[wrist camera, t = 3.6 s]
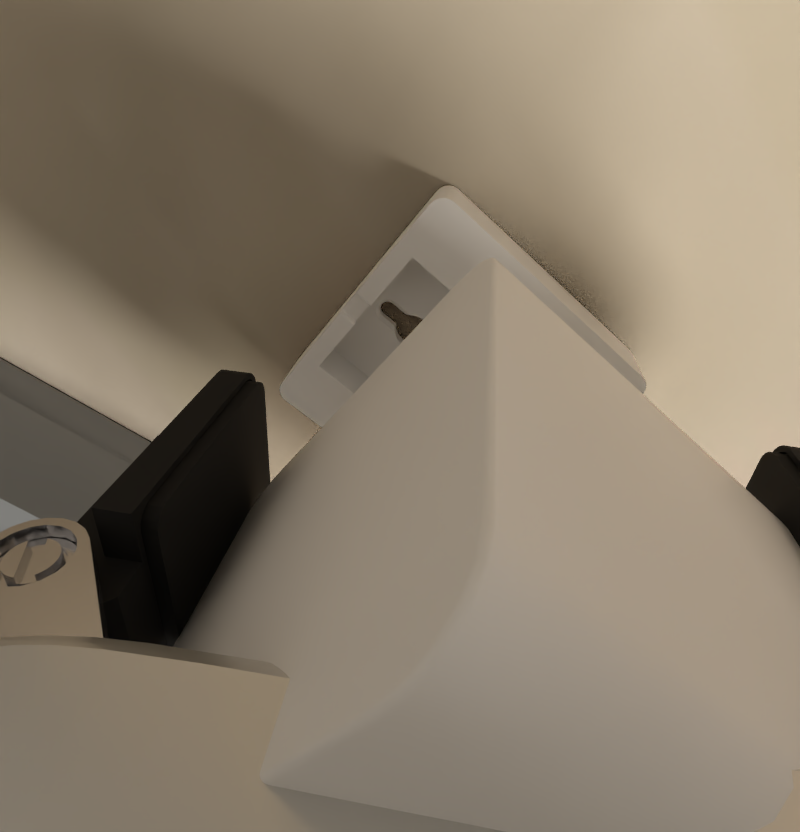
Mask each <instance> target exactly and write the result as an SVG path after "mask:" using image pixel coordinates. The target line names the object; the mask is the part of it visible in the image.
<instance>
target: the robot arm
mask: <svg viewBox="0 0 800 832" xmlns="http://www.w3.org/2000/svg"><path fill="white" fill-rule="evenodd" d="M269 484H270V471H269V455H268V439H267V423H266V407H265V391H264V386H263V384H262V383H261V382H256V381H255V377H254V375H253V374H252V373H244V372H237V371H229V370H220V371H219V372H218V373H217V374H216V375H215V376H214V377H213V378H212V379H211V380H210V381H209V382H208V383H207V385H206V386H205V387H204V388H203V389H202V390H201V391H200V392H199V393H198V394H197V395H196V396H195V397H194V398H193V399H192V401H191V402H190V403H189V404H188V405H187V406H186V407H185V408H184V409H183V410H182V411H181V412H180V413H179V414H178V415H177V417H176V418H175V419H174V420H173V421H172V422H171V423H170V424H169V425H168V426H167V427H166V428H165V429H164V430H163V431H162V433H161V434H160V435H158V436H157V437H156V438H155V439H154V440H153V441H152V442H151V443H150V445H149V446H148V447H147V448H146V449H145V450H144V451H143V452H142V453H141V454H140V455H139V456H138V457H137V458H136V459H135V461H134V462H133V463H132V464H131V465H130V466H129V467H128V468H127V469H126V470H125V471H124V472H123V473H122V474H121V475H120V476H119V478H118V479H117V480H116V481H115V482H114V483H113V484H112V485H111V486H110V487H109V488H108V489H107V490H106V491H105V492H104V494H103V495H102V496H101V497H100V498H99V499H98V500H97V501H96V502H95V503H94V504H93V505H92V506H91V507H90V508H89V510H88V511H87V512H86V513H85V514H84V515H83V516H82V517H81V518H80V519H79V520H78V521H77V522H75V521H71V520H68V519H64V518H43V519H37V520H30V521H27V522H24V523H21V524H18V525H15V526H12V527H10V528H8V529H6V530H4V531H2V532H0V832H505V831H500V830H495V829H490V828H485V827H480V826H474V825H469V824H464V823H459V822H454V821H449V820H444V819H439V818H434V817H429V816H423V815H418V814H413V813H408V812H403V811H398V810H393V809H388V808H383V807H377V806H372V805H367V804H362V803H357V802H352V801H347V800H342V799H337V798H332V797H327V796H322V795H316V794H311V793H306V792H301V791H296V790H291V789H286V788H281V787H276V786H271V785H267V784H265V783H264V782H262V780H261V779H260V770H261V767H262V764H263V761H264V758H265V755H266V752H267V748H268V745H269V742H270V739H271V736H272V733H273V730H274V727H275V724H276V721H277V718H278V715H279V712H280V709H281V705H282V702H283V699H284V696H285V693H286V690H287V687H288V684H289V681H290V678H289V677H288V676H287V674H286V673H284V672H283V671H282V670H281V669H280V668H278V667H277V666H275V665H273V664H272V663H270V662H264V661H259V660H253V659H246V658H240V657H234V656H227V655H221V654H215V653H209V652H202V651H196V650H190V649H183V648H177V647H173V645H174V644H175V642H176V640H177V638H178V637H179V636H180V634H181V632H182V631H183V629H184V627H185V625H186V623H187V622H188V620H189V618H190V616H191V615H192V613H193V611H194V609H195V607H196V606H197V604H198V602H199V600H200V599H201V597H202V595H203V593H204V591H205V590H206V588H207V586H208V584H209V582H210V581H211V579H212V577H213V575H214V574H215V572H216V570H217V568H218V566H219V565H220V563H221V561H222V559H223V557H224V556H225V554H226V552H227V550H228V549H229V547H230V545H231V543H232V541H233V540H234V538H235V536H236V534H237V532H238V531H239V529H240V527H241V525H242V524H243V522H244V520H245V518H246V516H247V514H248V513H249V511H250V510H251V508H252V507H253V505H254V504H255V502H256V501H257V500H258V498H259V497H260V495H261V494H262V493H263V491H264V490H265V489H266V488H267V486H268V485H269ZM746 490H748V491H749V492H750V493H751V494H752V495H753V496H754V497H755V498H756V499H757V500H758V501H760V502H761V503H762V504H763V505H764V506H765V507H766V508H767V509H768V510H769V511H770V512H771V513H773V514H774V515H775V516H776V517H777V518H778V519H779V520H780V521H781V522H782V523H783V524H784V525H785V526H786V527H787V528H788V529H789V531H790V533H791V534H792V536H793V537H794V539H795V541H796V542H797V544H798V545H799V547H800V448H798V447H791V446H779V447H777V448H776V449H775V450H774V451H773V452H767V453H765V454H764V455H763V456H762V458H761V459H760V461H759V463H758V465H757V467H756V469H755V471H754V473H753V475H752V477H751V479H750V481H749V483H748V485H747V487H746ZM792 777H793V786H794V788H793V790H792V791H791V793H790V795H789V796H788V798H787V800H786V801H785V803H784V805H783V807H782V808H781V810H780V812H779V813H778V815H777V817H776V818H775V820H774V822H772V823H770V824H768V825H766V826H764V827H762V828H760V829H758V830H757V831H755V832H800V769H795V770H792Z"/></svg>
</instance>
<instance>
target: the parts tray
mask: <svg viewBox="0 0 800 832" xmlns="http://www.w3.org/2000/svg"><path fill="white" fill-rule="evenodd" d="M150 443H151V442H149V441H147V440H146V439H144V438H142V437H140V436H138V435H137V434H135V433H133V432H131V431H130V430H128V429H126V428H124V427H122V426H121V425H119V424H117V423H115V422H113V421H112V420H110V419H108V418H106V417H104V416H103V415H101V414H99V413H97V412H96V411H94V410H92V409H90V408H88V407H87V406H85V405H83V404H81V403H79V402H78V401H76V400H74V399H72V398H71V397H69V396H67V395H65V394H63V393H62V392H60V391H58V390H56V389H54V388H53V387H51V386H49V385H47V384H46V383H44V382H42V381H40V380H38V379H37V378H35V377H33V376H31V375H29V374H28V373H26V372H24V371H22V370H20V369H19V368H17V367H15V366H13V365H12V364H10V363H8V362H6V361H4V360H3V359H1V358H0V532H2V531H4V530H6V529H8V528H10V527H12V526H15V525H18V524H21V523H24V522H27V521H30V520H37V519H43V518H64V519H68V520H71V521H75V522H77V521H78V520H79V519H80V518H81V517H82V516H83V515H84V514H85V513H86V512H87V511H88V510H89V508H90V507H91V506H92V505H93V504H94V503H95V502H96V501H97V500H98V499H99V498H100V497H101V496H102V495H103V494H104V492H105V491H106V490H107V489H108V488H109V487H110V486H111V485H112V484H113V483H114V482H115V481H116V480H117V479H118V478H119V476H120V475H121V474H122V473H123V472H124V471H125V470H126V469H127V468H128V467H129V466H130V465H131V464H132V463H133V462H134V461H135V459H136V458H137V457H138V456H139V455H140V454H141V453H142V452H143V451H144V450H145V449H146V448H147V447H148V446H149V445H150Z"/></svg>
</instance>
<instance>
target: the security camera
mask: <svg viewBox="0 0 800 832" xmlns="http://www.w3.org/2000/svg"><path fill="white" fill-rule="evenodd" d="M384 302H391V303H393V304H394V305H395V306H396V307H398V308H399V309H400V310H401V311H402V312H404V313H405V314H406V315H414V316H417V317H419V318H421V319H422V321H421V322H420V323H419V324H418V326H417V327H416V328H415V329H414V330H413V331H412V332H411V333H410V334H409V335H408V336H407V337H406V338H405V339H402V338H401V337H400V335H399V334H398V332H397V329H396V323H395V322H394V321H393V320H392V319H390V318H389V317H388V316H387V315H386V314H384V313H383V312H382V310H381V304H383V303H384ZM645 389H646V382H645V379H644V377H643V375H642V373H641V371H640V368H639V366H638V364H637V362H636V360H635V358H634V355H633V353H632V352H631V351H630V350H629V349H628V348H627V347H626V346H625V345H624V344H623V343H622V342H621V341H620V340H619V339H618V338H617V337H615V336H614V335H613V334H612V333H611V332H610V331H609V330H608V329H607V328H606V327H605V326H604V325H603V324H602V323H601V322H600V321H598V320H597V319H596V318H595V317H594V316H593V315H592V314H591V313H590V312H589V311H588V310H587V309H586V308H585V307H584V306H583V305H581V304H580V303H579V302H578V301H577V300H576V299H575V298H574V297H573V296H572V295H571V294H570V293H569V292H568V291H567V290H565V289H564V288H563V287H562V286H561V285H560V284H559V283H558V282H557V281H556V280H555V279H554V278H553V277H552V276H551V275H550V274H548V273H547V272H546V271H545V270H544V269H543V268H542V267H541V266H540V265H539V264H538V263H537V262H536V261H535V260H534V259H532V258H531V257H530V256H529V255H528V254H527V253H526V252H525V251H524V250H523V249H522V248H521V247H520V246H519V245H518V244H517V243H515V242H514V241H513V240H512V239H511V238H510V237H509V236H508V235H507V234H506V233H505V232H504V231H503V230H502V229H501V228H499V227H498V226H497V225H496V224H495V223H494V222H493V221H492V220H491V219H490V218H489V217H488V216H487V215H486V214H485V213H484V212H482V211H481V210H480V209H479V208H478V207H477V206H476V205H475V204H474V203H473V202H472V201H471V200H470V199H469V198H468V197H467V196H465V195H464V194H463V193H462V192H461V191H460V190H459V189H458V188H456V187H454V186H450V185H448V186H443V187H441V188H439V189H438V190H437V191H436V192H435V194H434V195H433V196H432V197H431V198H430V200H429V201H428V202H427V203H426V204H425V206H424V207H423V208H422V209H421V211H420V212H419V213H418V214H417V215H416V217H415V218H414V219H413V220H412V221H411V223H410V224H409V225H408V226H407V228H406V229H405V230H404V231H403V232H402V234H401V235H400V236H399V237H398V238H397V240H396V241H395V242H394V243H393V244H392V246H391V247H390V248H389V249H388V251H387V252H386V253H385V254H384V255H383V257H382V258H381V259H380V260H379V261H378V263H377V264H376V265H375V266H374V268H373V269H372V270H371V271H370V272H369V274H368V275H367V276H366V277H365V278H364V280H363V281H362V282H361V283H360V285H359V286H358V287H357V288H356V289H355V291H354V292H353V293H352V294H351V295H350V297H349V298H348V299H347V300H346V302H345V303H344V304H343V305H342V306H341V308H340V309H339V310H338V311H337V312H336V314H335V315H334V316H333V317H332V319H331V320H330V321H329V322H328V323H327V325H326V326H325V327H324V328H323V329H322V331H321V332H320V333H319V334H318V336H317V337H316V338H315V339H314V340H313V342H312V343H311V344H310V345H309V346H308V348H307V349H306V350H305V351H304V352H303V354H302V355H301V356H300V357H299V359H298V360H297V361H296V363H295V364H294V366H293V367H292V369H291V370H290V372H289V373H288V375H287V376H286V378H285V379H284V380H283V382H282V383H281V385H280V394H281V396H282V398H283V399H284V400H286V401H287V402H288V403H289V404H291V405H292V406H294V407H295V408H296V409H298V410H299V411H300V412H302V413H303V414H304V415H306V416H307V417H308V418H310V419H311V420H312V421H314V422H315V423H316V424H318V425H319V426H320V427H322V428H321V429H320V430H319V431H318V432H317V433H316V434H315V435H314V436H313V437H312V438H311V440H310V441H309V442H308V443H307V444H306V445H305V446H304V447H303V448H302V449H301V450H300V451H299V452H298V453H297V454H296V456H295V457H294V458H293V459H292V460H291V461H290V462H289V463H288V464H287V465H286V466H285V467H284V468H283V469H282V470H281V472H280V473H279V474H278V475H277V476H276V477H275V478H274V479H273V480H272V482H271V483H270V484H269V485H268V486H267V488H266V489H265V490H264V491H263V493H262V494H261V495H260V497H259V498H258V500H257V501H256V502H255V504H254V505H253V507H252V508H251V510H250V511H249V513H248V514H247V516H246V518H245V520H244V522H243V524H242V525H241V527H240V529H239V531H238V532H237V534H236V536H235V538H234V540H233V541H232V543H231V545H230V547H229V549H228V550H227V552H226V554H225V556H224V557H223V559H222V561H221V563H220V565H219V566H218V568H217V570H216V572H215V574H214V575H213V577H212V579H211V581H210V582H209V584H208V586H207V588H206V590H205V591H204V593H203V595H202V597H201V599H200V600H199V602H198V604H197V606H196V607H195V609H194V611H193V613H192V615H191V616H190V618H189V620H188V622H187V623H186V625H185V627H184V629H183V631H182V632H181V634H180V636H179V637H178V638H177V640H176V642H175V644H174V645H173V647H177V648H183V649H190V650H196V651H202V652H209V653H215V654H221V655H227V656H234V657H240V658H246V659H253V660H259V661H264V662H270V663H272V664H273V665H275V666H277V667H278V668H280V669H281V670H282V671H283V672H284V673H286V674H287V676H288V677H289V678H290V681H289V684H288V687H287V690H286V693H285V696H284V699H283V702H282V705H281V709H280V712H279V715H278V718H277V721H276V724H275V727H274V730H273V733H272V736H271V739H270V742H269V745H268V748H267V752H266V755H265V758H264V761H263V764H262V767H261V770H260V779H261V780H262V782H264V783H265V784H267V785H271V786H276V787H281V788H286V789H291V790H296V791H301V792H306V793H311V794H316V795H322V796H327V797H332V798H337V799H342V800H347V801H352V802H357V803H362V804H367V805H372V806H377V807H383V808H388V809H393V810H398V811H403V812H408V813H413V814H418V815H423V816H429V817H434V818H439V819H444V820H449V821H454V822H459V823H464V824H469V825H474V826H480V827H485V828H490V829H495V830H500V831H505V832H755V831H757V830H758V829H760V828H762V827H764V826H766V825H768V824H770V823H772V822H774V820H775V818H776V817H777V815H778V813H779V812H780V810H781V808H782V807H783V805H784V803H785V801H786V800H787V798H788V796H789V795H790V793H791V791H792V790H793V788H794V786H793V777H792V770H795V769H800V547H799V545H798V544H797V542H796V541H795V539H794V537H793V536H792V534H791V533H790V531H789V529H788V528H787V527H786V526H785V525H784V524H783V523H782V522H781V521H780V520H779V519H778V518H777V517H776V516H775V515H774V514H773V513H771V512H770V511H769V510H768V509H767V508H766V507H765V506H764V505H763V504H762V503H761V502H760V501H758V500H757V499H756V498H755V497H754V496H753V495H752V494H751V493H750V492H749V491H748V490H746V489H745V488H744V487H743V486H742V485H741V484H740V483H739V482H738V481H737V480H736V479H735V478H733V477H732V476H731V475H730V474H729V473H728V472H727V471H726V470H725V469H724V468H723V467H721V466H720V465H719V464H718V463H717V462H716V461H715V460H714V459H713V458H712V457H711V456H709V455H708V454H707V453H706V452H705V451H704V450H703V449H702V448H701V447H700V446H699V445H698V444H696V443H695V442H694V441H693V440H692V439H691V438H690V437H689V436H688V435H687V434H686V433H684V432H683V431H682V430H681V429H680V428H679V427H678V426H677V425H676V424H675V423H674V422H673V421H671V420H670V419H669V418H668V417H667V416H666V415H665V414H664V413H663V412H662V411H661V410H659V409H658V408H657V407H656V406H655V405H654V404H653V403H652V402H651V401H650V400H649V399H648V398H646V397H645V396H644V395H643V393H644V391H645Z"/></svg>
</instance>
